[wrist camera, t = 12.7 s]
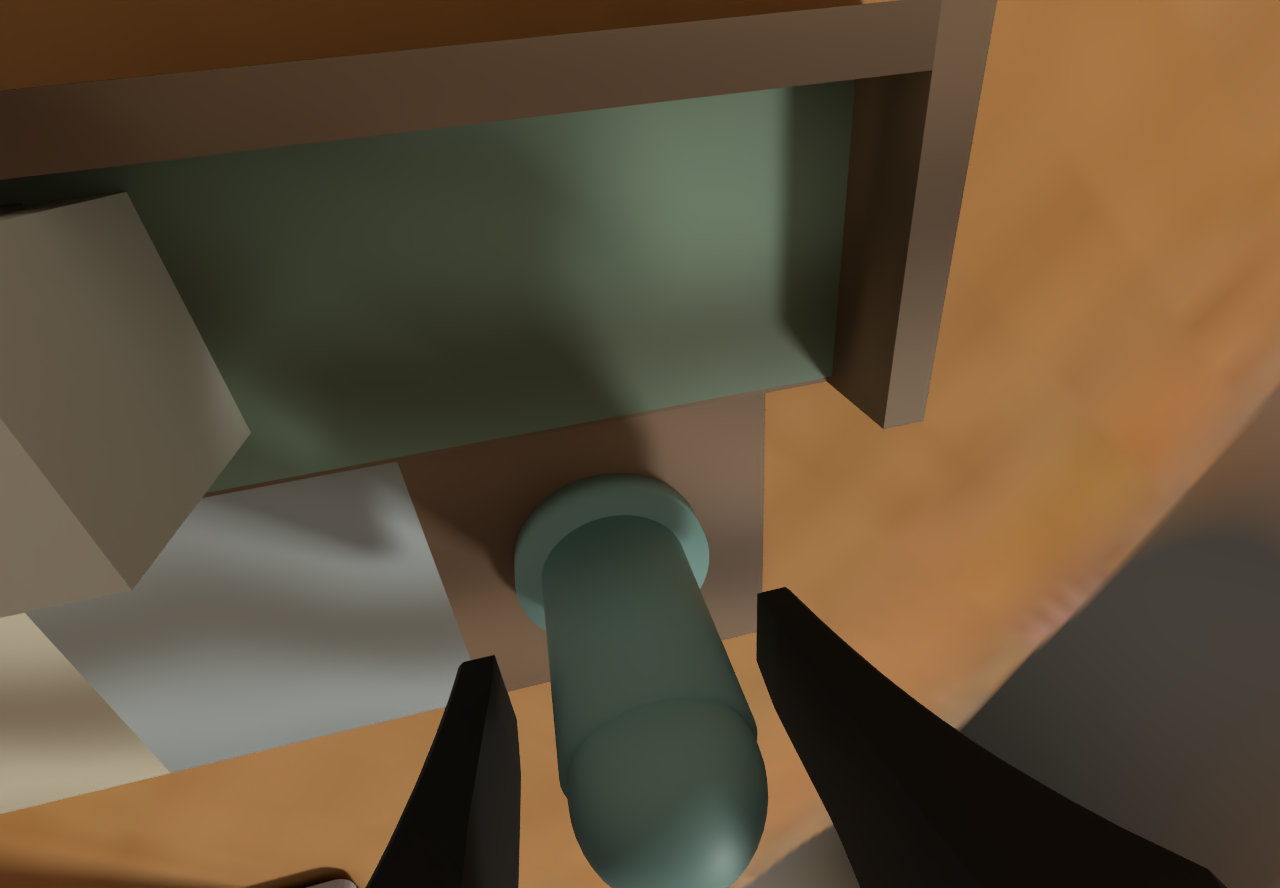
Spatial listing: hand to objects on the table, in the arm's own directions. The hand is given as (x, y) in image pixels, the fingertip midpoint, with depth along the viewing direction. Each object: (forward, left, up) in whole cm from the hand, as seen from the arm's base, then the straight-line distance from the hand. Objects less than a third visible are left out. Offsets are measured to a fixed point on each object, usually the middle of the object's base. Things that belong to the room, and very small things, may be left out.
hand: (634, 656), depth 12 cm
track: (0, +8, -3) cm, 9 cm away
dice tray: (+7, +6, -3) cm, 10 cm away
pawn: (0, 0, -3) cm, 3 cm away
